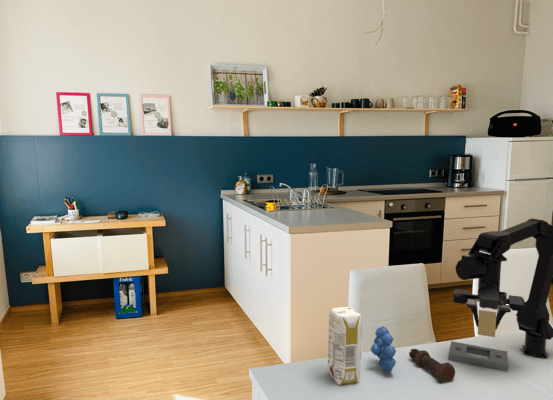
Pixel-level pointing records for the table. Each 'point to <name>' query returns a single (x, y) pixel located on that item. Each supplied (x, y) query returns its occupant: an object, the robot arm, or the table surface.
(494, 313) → the wooden block
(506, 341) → the table surface
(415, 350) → the bolt
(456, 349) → the grey slotted plate
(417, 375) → the table surface
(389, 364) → the grapes
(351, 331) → the juice carton
